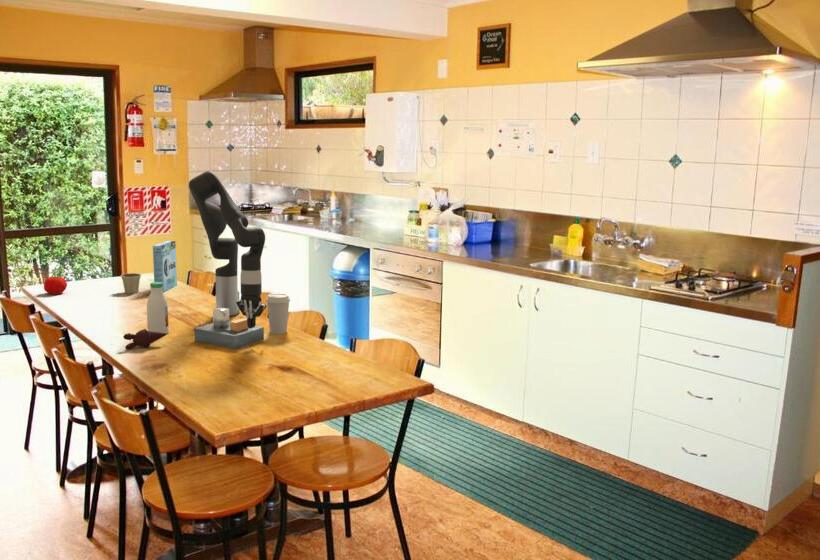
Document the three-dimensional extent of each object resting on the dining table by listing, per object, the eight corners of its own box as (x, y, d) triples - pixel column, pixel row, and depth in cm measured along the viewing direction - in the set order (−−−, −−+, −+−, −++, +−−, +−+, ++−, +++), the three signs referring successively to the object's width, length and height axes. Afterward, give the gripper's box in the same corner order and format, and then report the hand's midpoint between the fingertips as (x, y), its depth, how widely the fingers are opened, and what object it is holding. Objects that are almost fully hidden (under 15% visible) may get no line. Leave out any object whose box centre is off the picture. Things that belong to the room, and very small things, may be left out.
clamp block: (242, 326, 284) (242, 318, 283) (248, 328, 283) (248, 319, 282) (230, 330, 278) (229, 321, 277) (236, 331, 277) (236, 323, 276)
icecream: (162, 325, 279) (120, 333, 271) (167, 324, 273) (124, 332, 265) (165, 343, 279) (124, 351, 271) (170, 343, 273) (128, 352, 265)
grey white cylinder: (221, 334, 290) (220, 307, 287) (232, 337, 287) (232, 309, 285) (210, 338, 284) (209, 310, 282) (222, 340, 282) (221, 312, 279)
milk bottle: (162, 336, 287) (160, 285, 283) (143, 334, 289) (141, 283, 285) (172, 331, 295) (170, 281, 291) (154, 329, 296) (152, 280, 292)
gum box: (163, 292, 366) (162, 246, 362) (153, 292, 366) (151, 245, 362) (177, 285, 385) (176, 240, 381) (167, 284, 385) (166, 240, 381)
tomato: (40, 293, 355) (39, 276, 354) (60, 290, 363) (59, 273, 362) (51, 296, 350) (49, 279, 348) (71, 293, 358) (70, 276, 357)
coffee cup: (261, 331, 297) (260, 295, 295) (280, 328, 304) (280, 291, 302) (275, 336, 291) (275, 299, 288) (295, 332, 298) (295, 295, 295)
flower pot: (137, 294, 359) (137, 277, 358) (118, 294, 359) (117, 276, 358) (144, 290, 368) (144, 273, 367) (125, 290, 369) (125, 273, 367)
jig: (224, 332, 295) (223, 318, 294) (263, 339, 286) (263, 325, 285) (194, 341, 281) (194, 326, 280) (235, 349, 272) (235, 334, 271)
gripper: (230, 281, 274) (230, 327, 277) (258, 285, 268) (258, 332, 271) (243, 278, 280) (244, 323, 284) (271, 282, 274) (272, 328, 277)
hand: (251, 327), depth 277 cm, fingers closed
